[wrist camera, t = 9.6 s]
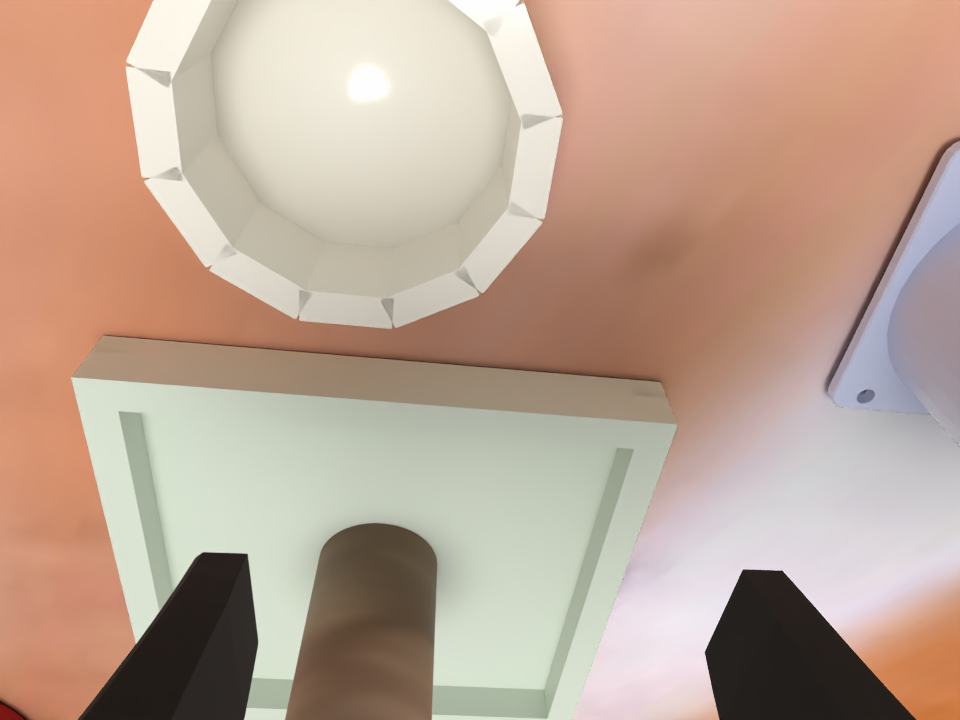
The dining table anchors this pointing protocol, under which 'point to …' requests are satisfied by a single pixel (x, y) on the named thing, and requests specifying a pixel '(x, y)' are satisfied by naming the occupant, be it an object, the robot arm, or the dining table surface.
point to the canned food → (8, 713)
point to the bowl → (347, 146)
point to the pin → (369, 629)
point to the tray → (382, 498)
